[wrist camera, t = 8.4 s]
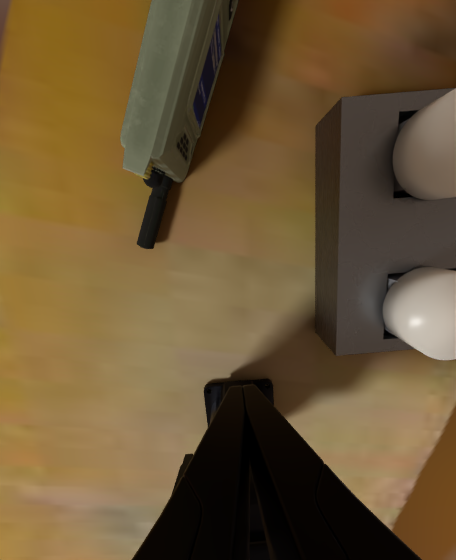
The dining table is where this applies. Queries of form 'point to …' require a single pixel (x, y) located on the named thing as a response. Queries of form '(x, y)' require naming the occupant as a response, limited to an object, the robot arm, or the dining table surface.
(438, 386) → the dining table surface
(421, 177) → the knob
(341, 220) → the mount
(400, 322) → the knob
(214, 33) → the handheld radio
